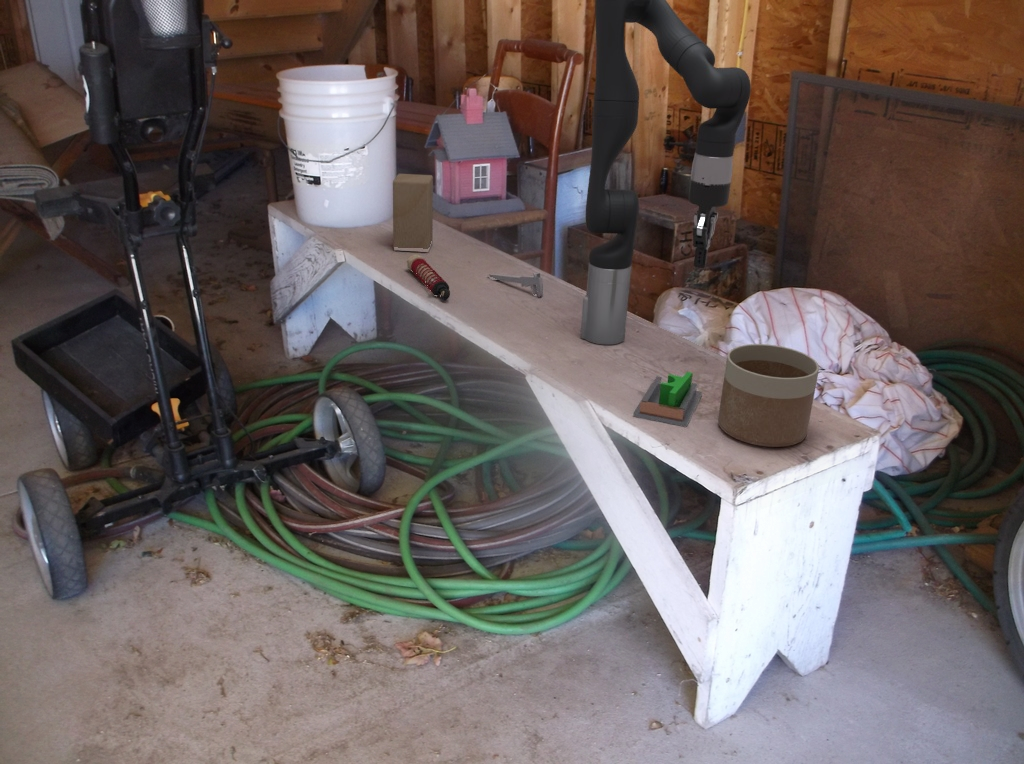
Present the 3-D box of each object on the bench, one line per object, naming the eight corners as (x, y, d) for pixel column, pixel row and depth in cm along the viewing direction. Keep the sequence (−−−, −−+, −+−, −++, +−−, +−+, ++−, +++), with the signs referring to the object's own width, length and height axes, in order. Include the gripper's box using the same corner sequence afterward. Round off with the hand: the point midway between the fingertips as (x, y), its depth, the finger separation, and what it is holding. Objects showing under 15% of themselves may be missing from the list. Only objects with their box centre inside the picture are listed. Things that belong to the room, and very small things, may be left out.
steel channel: (633, 416, 176) (634, 402, 175) (651, 386, 189) (653, 373, 188) (686, 426, 173) (688, 413, 172) (701, 395, 186) (703, 382, 185)
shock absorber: (459, 289, 229) (423, 253, 254) (442, 284, 227) (407, 248, 252) (451, 307, 230) (416, 270, 255) (434, 302, 228) (400, 264, 253)
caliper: (542, 298, 236) (544, 274, 234) (539, 299, 236) (540, 275, 233) (488, 277, 250) (489, 254, 247) (485, 278, 249) (486, 255, 247)
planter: (755, 404, 183) (766, 337, 178) (824, 435, 172) (838, 366, 166) (699, 423, 174) (708, 354, 169) (767, 458, 163) (780, 385, 158)
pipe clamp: (671, 390, 186) (674, 368, 184) (690, 394, 184) (692, 372, 183) (653, 411, 177) (655, 388, 175) (672, 415, 175) (675, 393, 173)
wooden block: (393, 251, 267) (392, 180, 259) (398, 242, 276) (397, 173, 268) (428, 253, 267) (429, 182, 259) (432, 243, 276) (433, 174, 268)
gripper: (697, 170, 186) (687, 255, 193) (684, 182, 175) (673, 272, 182) (736, 174, 184) (724, 260, 191) (725, 187, 172) (712, 278, 179)
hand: (699, 266), depth 186 cm, fingers closed
